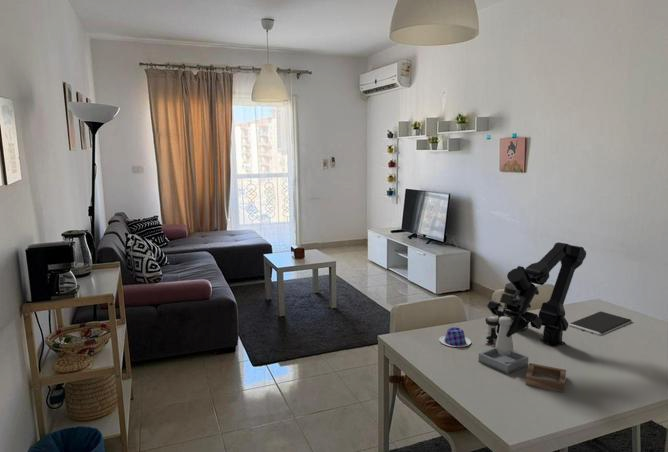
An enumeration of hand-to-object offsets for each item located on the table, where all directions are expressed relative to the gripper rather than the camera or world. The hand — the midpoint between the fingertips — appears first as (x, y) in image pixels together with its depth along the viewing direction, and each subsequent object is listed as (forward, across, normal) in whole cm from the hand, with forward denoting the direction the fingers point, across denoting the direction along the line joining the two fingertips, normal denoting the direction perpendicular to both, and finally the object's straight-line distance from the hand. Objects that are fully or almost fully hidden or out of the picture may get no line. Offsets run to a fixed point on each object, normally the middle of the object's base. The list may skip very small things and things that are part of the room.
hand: (502, 334), depth 157 cm
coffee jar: (-16, -18, +32) cm, 40 cm away
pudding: (+7, -22, +9) cm, 25 cm away
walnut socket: (+6, +16, +9) cm, 19 cm away
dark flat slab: (-38, +1, +56) cm, 68 cm away
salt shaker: (+4, 0, +6) cm, 7 cm away
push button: (-1, -14, +17) cm, 22 cm away
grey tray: (+7, 0, +8) cm, 11 cm away
